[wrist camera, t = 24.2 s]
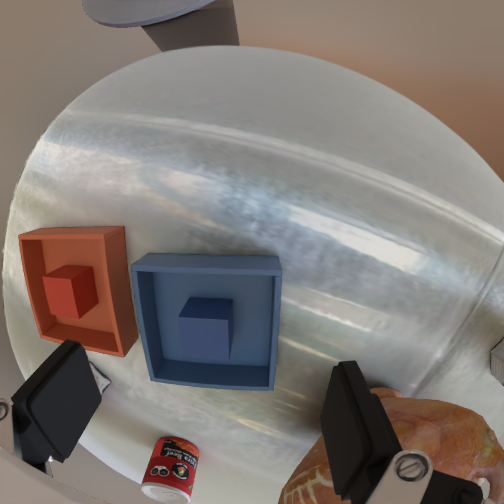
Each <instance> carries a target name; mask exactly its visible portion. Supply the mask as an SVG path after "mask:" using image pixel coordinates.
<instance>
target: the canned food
mask: <svg viewBox="0 0 504 504" xmlns="http://www.w3.org/2000/svg"><path fill="white" fill-rule="evenodd" d="M198 458H199V453H198V449H197V448H196V447H195V446H194V445H193V444H192V443H190V442H188V441H186V440H184V439H181V438H176V437H164V438H161V439H160V440H158V442H157V443H156V445H155V447H154V450H153V453H152V456H151V458H150V461H149V464H148V467H147V469H146V472H145V475H144V478H143V481H142V484H141V490H142V492H143V493H145V494H146V495H147V496H149V497H151V498H153V499H155V500H158V501H161V502H164V503H168V504H187V503H189V500H190V498H191V493H192V488H193V483H194V478H195V473H196V468H197V463H198Z"/></svg>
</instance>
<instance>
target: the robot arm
mask: <svg viewBox="0 0 504 504" xmlns="http://www.w3.org/2000/svg"><path fill="white" fill-rule="evenodd" d="M101 398H102V397H101V393H100V390H99V388H98V385H97V383H96V380H95V377H94V375H93V372H92V369H91V366H90V363H89V361H88V358H87V355H86V351H85V349H84V347H83V346H82V345H81V343H80V342H78V341H74V340H70V339H66V340H65V341H64V342H63V343H62V344H61V345H60V346H59V347H58V348H57V349H56V350H55V351H54V352H53V353H52V354H51V355H50V356H49V357H48V358H47V359H46V360H45V361H44V362H43V363H42V364H41V366H40V367H39V368H38V369H37V370H36V371H35V372H34V373H33V374H32V375H31V376H30V377H29V378H28V379H27V381H26V382H25V383H24V384H23V385H22V386H21V387H20V388H19V389H18V391H17V392H16V393H15V394H14V395H13V396H12V397H11V399H12V401H13V403H14V404H13V405H11V404H10V402H9V401H7V400H6V399H3V398H0V504H111V503H108V502H106V501H103V500H100V499H97V498H95V497H93V496H90V495H88V494H86V493H83V492H81V491H79V490H76V489H74V488H72V487H70V486H68V485H66V484H64V483H62V482H60V481H58V480H56V479H54V478H53V475H52V471H51V467H50V463H49V457H50V456H51V457H52V458H53V459H55V460H57V461H59V462H61V463H63V462H64V460H65V458H68V457H69V456H70V454H71V452H72V451H73V449H74V447H75V445H76V444H77V442H78V440H79V438H80V437H81V435H82V433H83V431H84V430H85V428H86V426H87V425H88V423H89V421H90V419H91V418H92V416H93V414H94V413H95V411H96V409H97V408H98V406H99V404H100V402H101ZM320 423H321V428H322V433H323V437H324V442H325V447H326V452H327V457H328V461H329V466H330V471H331V476H332V481H333V487H334V491H335V494H336V495H340V497H341V501H345V500H350V501H351V504H498V503H496V502H495V501H493V500H491V499H490V498H487V499H486V500H485V499H483V493H482V490H481V487H480V486H479V485H478V484H477V483H475V482H472V481H469V480H465V479H462V478H459V477H455V476H452V475H449V474H446V473H443V472H440V471H437V470H434V469H433V462H432V460H431V458H430V456H428V455H427V454H426V453H425V452H423V451H421V450H417V449H406V450H403V449H402V447H401V444H400V442H399V440H398V438H397V435H396V433H395V431H394V429H393V426H392V424H391V422H390V420H389V418H388V416H387V413H386V411H385V409H384V407H383V405H382V403H381V401H380V398H379V397H378V395H377V394H375V393H372V394H371V392H370V390H369V388H368V385H367V383H366V381H365V379H364V377H363V375H362V373H361V370H360V368H359V366H358V364H357V362H356V361H341V362H339V363H338V366H334V367H333V369H332V373H331V378H330V382H329V386H328V389H327V393H326V397H325V401H324V404H323V408H322V411H321V415H320Z"/></svg>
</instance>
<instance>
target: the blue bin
mask: <svg viewBox="0 0 504 504" xmlns="http://www.w3.org/2000/svg"><path fill="white" fill-rule="evenodd" d="M131 270H132V271H131V272H132V280H133V288H134V296H135V303H136V309H137V316H138V322H139V327H140V333H141V338H142V343H143V349H144V353H145V358H146V363H147V367H148V372H149V376H150V380H151V381H155V382H161V383H169V384H176V385H184V386H193V387H204V388H216V389H231V390H258V391H274V383H275V372H276V359H277V346H278V332H279V318H280V302H281V284H282V267H281V263H280V259H279V256H242V255H201V254H162V253H148V254H146V255H145V256H143V257H142V258H140V259H139V260H137V261H136V262H135V263H133V264H132V265H131ZM189 297H196V298H217V299H233V342H232V348H231V354H230V360H229V361H217V360H203V359H191V358H183V357H182V349H181V341H180V333H179V324H178V316H179V314H180V312H181V311H182V309H183V307H184V305H185V304H186V302H187V300H188V299H189Z"/></svg>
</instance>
